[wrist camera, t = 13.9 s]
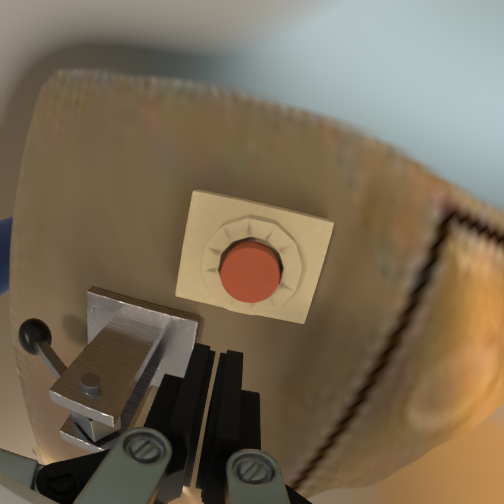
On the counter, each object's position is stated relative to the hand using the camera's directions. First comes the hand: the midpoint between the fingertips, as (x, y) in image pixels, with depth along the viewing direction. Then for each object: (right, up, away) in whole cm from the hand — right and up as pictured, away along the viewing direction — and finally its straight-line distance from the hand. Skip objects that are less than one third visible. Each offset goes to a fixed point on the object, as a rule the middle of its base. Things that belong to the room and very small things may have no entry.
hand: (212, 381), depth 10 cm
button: (+1, +3, +10) cm, 11 cm away
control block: (+1, +4, +14) cm, 14 cm away
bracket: (-9, -3, +16) cm, 18 cm away
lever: (-12, -4, +10) cm, 16 cm away
